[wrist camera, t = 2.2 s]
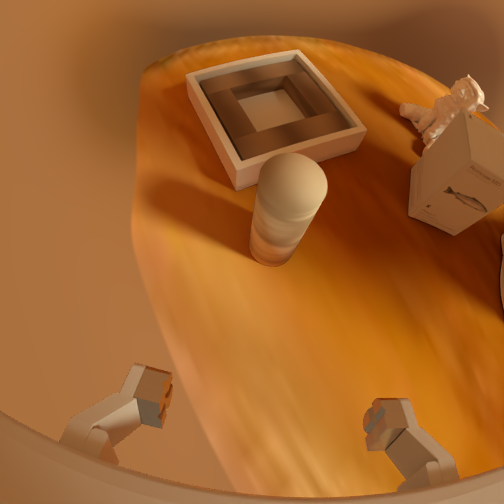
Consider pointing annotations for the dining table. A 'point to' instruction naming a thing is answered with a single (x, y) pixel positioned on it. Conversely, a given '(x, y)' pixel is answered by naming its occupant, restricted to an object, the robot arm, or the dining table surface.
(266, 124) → the open box
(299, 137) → the bore plate
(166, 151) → the dining table surface
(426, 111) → the seated beast figurine
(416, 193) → the supplement box
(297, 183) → the birch peg
